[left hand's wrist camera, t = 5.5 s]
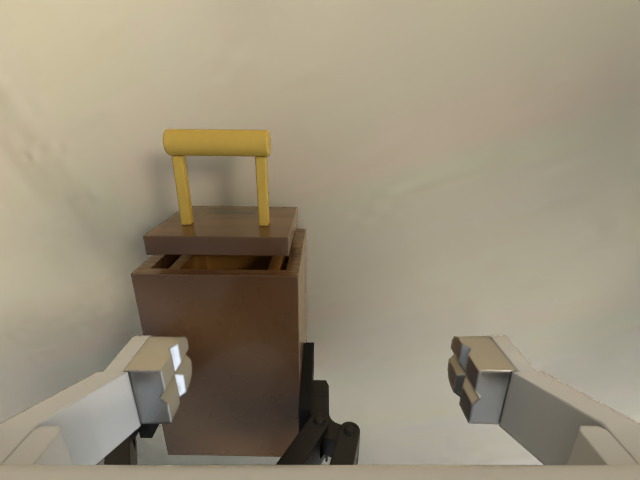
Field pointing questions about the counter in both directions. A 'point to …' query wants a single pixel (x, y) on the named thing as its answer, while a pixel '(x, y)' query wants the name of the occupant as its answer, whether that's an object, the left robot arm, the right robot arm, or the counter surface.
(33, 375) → the counter surface
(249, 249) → the drawer
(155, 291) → the wooden drawer cabinet
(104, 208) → the counter surface
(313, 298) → the counter surface
